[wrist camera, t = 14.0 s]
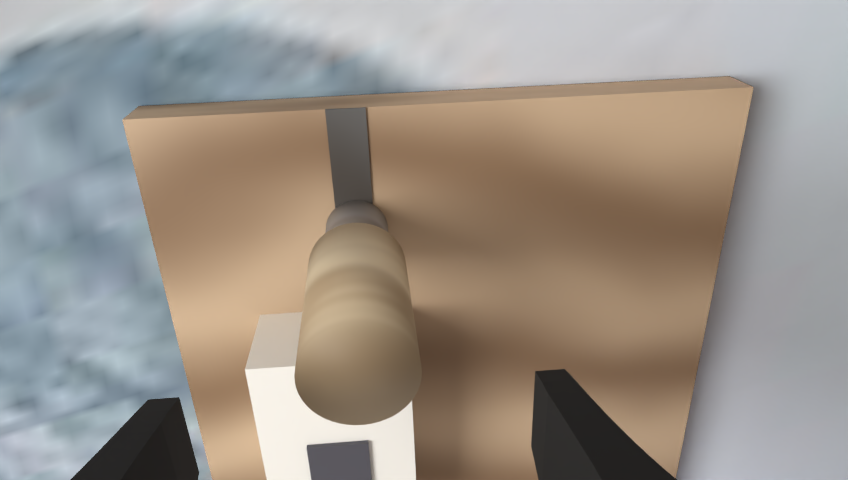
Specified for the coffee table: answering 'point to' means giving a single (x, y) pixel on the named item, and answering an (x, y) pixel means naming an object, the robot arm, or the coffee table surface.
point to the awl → (357, 322)
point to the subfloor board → (458, 247)
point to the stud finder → (316, 420)
